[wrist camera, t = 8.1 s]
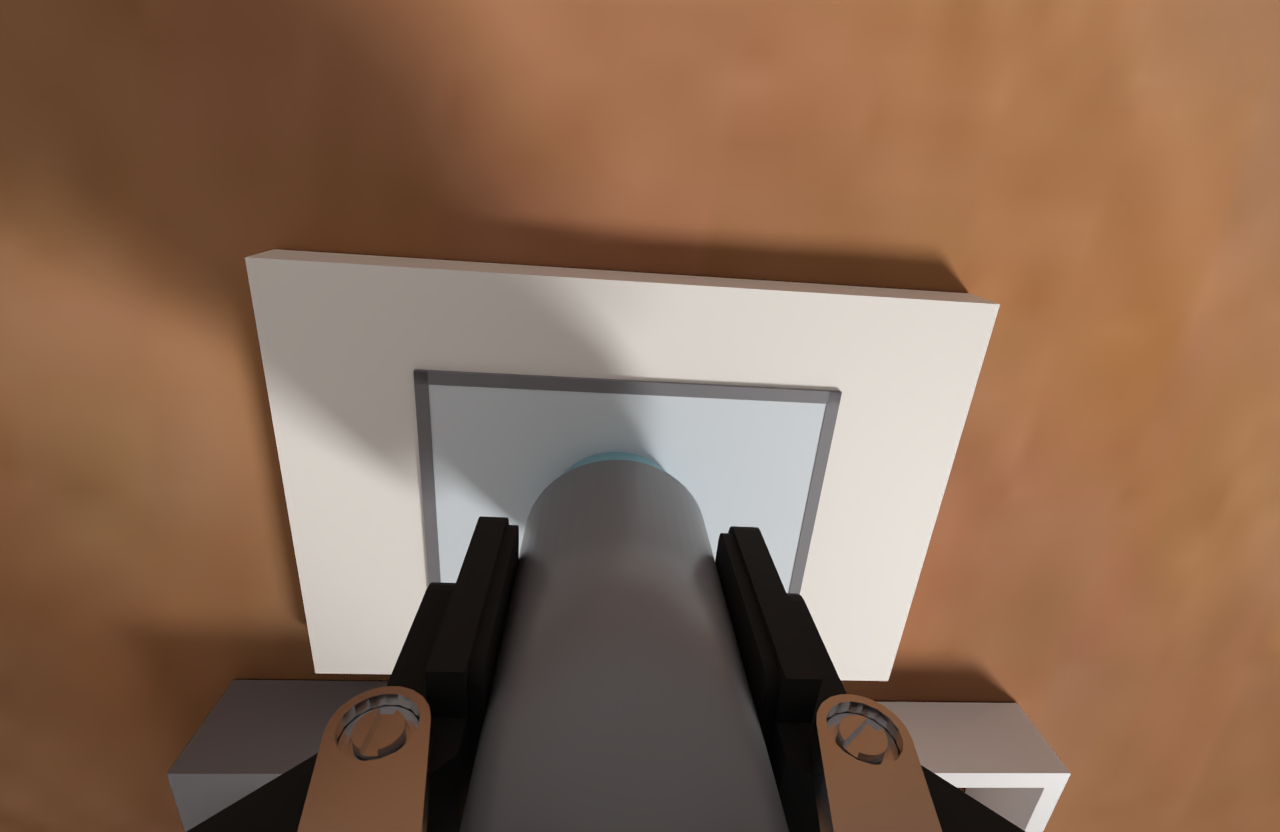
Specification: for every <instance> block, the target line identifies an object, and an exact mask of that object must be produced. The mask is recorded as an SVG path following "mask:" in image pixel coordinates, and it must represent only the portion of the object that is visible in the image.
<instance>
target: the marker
mask: <svg viewBox="0 0 1280 832" xmlns="http://www.w3.org/2000/svg"><path fill="white" fill-rule="evenodd" d="M459 832H789V829H788V825H787V821H786V818H785V814H784V810H783V807H782V803H781V799H780V796H779V792H778V789H777V785H776V781H775V778H774V774H773V770H772V767H771V763H770V760H769V756H768V752H767V749H766V745H765V741H764V738H763V734H762V730H761V727H760V723H759V720H758V716H757V712H756V709H755V705H754V701H753V698H752V694H751V690H750V687H749V683H748V680H747V676H746V672H745V669H744V665H743V661H742V658H741V654H740V650H739V647H738V643H737V640H736V636H735V632H734V629H733V625H732V621H731V618H730V614H729V610H728V607H727V603H726V600H725V596H724V592H723V589H722V585H721V581H720V578H719V574H718V571H717V567H716V563H715V560H714V556H713V552H712V549H711V545H710V541H709V538H708V534H707V531H706V527H705V523H704V520H703V516H702V513H701V511H700V508H699V506H698V504H697V502H696V501H695V499H694V497H693V496H692V494H691V493H690V492H689V491H688V490H687V488H686V487H685V486H684V485H683V484H681V483H680V482H679V481H678V480H677V479H675V478H674V477H673V476H671V475H670V474H668V473H666V472H665V471H664V470H663V469H662V468H661V467H660V466H658V465H657V464H655V463H654V462H652V461H650V460H648V459H646V458H644V457H641V456H639V455H635V454H631V453H624V452H607V453H600V454H596V455H592V456H589V457H587V458H584V459H582V460H580V461H579V462H577V463H575V464H574V465H572V466H571V467H570V468H568V469H567V470H566V471H565V472H564V473H563V474H562V475H561V476H560V477H559V478H557V479H556V480H554V481H553V482H552V483H551V484H550V485H549V486H548V487H546V488H545V489H544V491H543V492H542V493H541V494H540V495H539V497H538V498H537V500H536V501H535V503H534V505H533V506H532V508H531V511H530V513H529V515H528V518H527V522H526V526H525V531H524V535H523V540H522V545H521V549H520V554H519V560H518V565H517V569H516V574H515V579H514V583H513V588H512V592H511V597H510V602H509V606H508V611H507V616H506V620H505V625H504V629H503V634H502V639H501V643H500V648H499V653H498V657H497V662H496V667H495V671H494V676H493V680H492V685H491V690H490V694H489V699H488V704H487V708H486V713H485V718H484V722H483V726H482V730H481V734H480V738H479V743H478V747H477V752H476V757H475V761H474V766H473V770H472V775H471V780H470V784H469V789H468V793H467V798H466V803H465V807H464V812H463V816H462V821H461V826H460V830H459Z"/></svg>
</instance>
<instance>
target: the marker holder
mask: <svg viewBox="0 0 1280 832" xmlns="http://www.w3.org/2000/svg"><path fill="white" fill-rule="evenodd" d="M877 703H879V704H881V705H883V706H885V707H886V708H887V709H889V710H890V711H891V712H893V713H894V714H895V715H896V716H897V717H898V718H899V719H900V720H901V721H902V723H903V724H904V725H905V726H906V727H907V729H908V731H909V733H910V735H911V737H912V739H913V743H914V746H915V749H916V752H917V755H918V758H919V761H920V764H921V765H922V766H924V767H925V768H927V769H928V770H930V771H932V772H933V773H935V774H936V775H938V776H939V777H941V778H942V779H944V780H946V781H947V782H949V783H950V784H952V785H953V786H955V787H957V788H966V791H965V793H966V794H968V795H969V796H971V797H972V798H974V799H975V800H977V801H978V802H980V803H982V804H983V805H985V806H986V807H988V808H989V809H991V810H993V811H994V812H996V813H997V814H999V815H1000V816H1002V817H1004V818H1005V819H1007V820H1008V821H1010V822H1011V823H1013V824H1014V825H1016V826H1018V827H1019V828H1021V829H1022V830H1024V831H1025V832H1043V830H1044V828H1045V826H1046V824H1047V822H1048V820H1049V818H1050V816H1051V814H1052V812H1053V810H1054V807H1055V805H1056V803H1057V801H1058V799H1059V797H1060V795H1061V793H1062V791H1063V789H1064V787H1065V785H1066V783H1067V780H1068V778H1069V776H1070V774H1071V773H1070V771H1069V770H1068V769H1067V768H1066V766H1065V765H1064V764H1063V762H1062V761H1061V760H1060V758H1059V757H1058V756H1057V754H1056V753H1055V752H1054V750H1053V749H1052V748H1051V746H1050V745H1049V744H1048V743H1047V741H1046V740H1045V739H1044V737H1043V736H1042V735H1041V733H1040V732H1039V731H1038V729H1037V728H1036V727H1035V725H1034V724H1033V723H1032V721H1031V720H1030V719H1029V717H1028V716H1027V715H1026V714H1025V712H1024V711H1023V710H1022V708H1021V707H1020V706H1019V704H1018V703H962V702H877Z"/></svg>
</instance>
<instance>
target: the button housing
mask: <svg viewBox="0 0 1280 832" xmlns="http://www.w3.org/2000/svg"><path fill="white" fill-rule="evenodd" d="M387 684H388V681H309V680H233V681H232V683H231V684H230V685H229V687H228V688H227V690H226V691H225V692H224V694H223V695H222V697H221V698H220V699H219V701H218V702H217V704H216V705H215V706H214V708H213V709H212V711H211V712H210V713H209V715H208V716H207V718H206V719H205V720H204V722H203V723H202V725H201V726H200V727H199V729H198V730H197V732H196V733H195V734H194V736H193V737H192V739H191V740H190V741H189V743H188V744H187V746H186V747H185V749H184V750H183V751H182V753H181V754H180V756H179V757H178V758H177V760H176V761H175V763H174V764H173V765H172V767H171V768H170V770H169V771H168V772H167V777H168V780H169V783H170V786H171V790H172V793H173V796H174V799H175V802H176V805H177V808H178V812H179V815H180V818H181V821H182V824H183V827H184V831H185V832H187V831H188V830H190V829H192V828H193V827H195V826H197V825H198V824H200V823H202V822H203V821H205V820H207V819H208V818H210V817H212V816H213V815H215V814H217V813H218V812H220V811H222V810H223V809H225V808H227V807H228V806H230V805H232V804H233V803H235V802H237V801H238V800H240V799H242V798H243V797H245V796H247V795H248V794H250V793H252V792H253V791H255V790H257V789H258V788H260V787H262V786H263V785H265V784H267V783H268V782H270V781H272V780H273V779H275V778H277V777H278V776H280V775H282V774H283V773H285V772H287V771H288V770H290V769H292V768H293V767H295V766H297V765H298V764H300V763H302V762H303V761H305V760H307V759H308V758H310V757H312V756H313V755H315V754H317V753H318V751H319V747H320V744H321V740H322V736H323V732H324V730H325V728H326V726H327V724H328V721H329V719H330V718H331V717H332V716H333V715H334V713H335V712H336V711H337V710H338V709H339V708H340V707H341V706H342V705H343V704H345V703H346V702H347V701H349V700H350V699H352V698H353V697H355V696H357V695H359V694H361V693H363V692H366V691H368V690H371V689H375V688H380V687H384V686H387Z"/></svg>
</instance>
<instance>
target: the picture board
mask: <svg viewBox="0 0 1280 832" xmlns="http://www.w3.org/2000/svg"><path fill="white" fill-rule="evenodd" d="M245 262H246V268H247V273H248V279H249V285H250V291H251V297H252V303H253V309H254V315H255V321H256V327H257V332H258V338H259V344H260V350H261V356H262V362H263V368H264V374H265V380H266V385H267V391H268V397H269V403H270V409H271V415H272V421H273V427H274V433H275V439H276V444H277V450H278V456H279V462H280V468H281V474H282V480H283V486H284V492H285V497H286V503H287V509H288V515H289V521H290V527H291V533H292V539H293V545H294V551H295V556H296V562H297V568H298V574H299V580H300V586H301V592H302V598H303V604H304V609H305V615H306V621H307V627H308V633H309V639H310V645H311V651H312V657H313V663H314V668H315V673H319V674H392V671H393V669H394V667H395V664H396V662H397V659H398V657H399V655H400V652H401V650H402V647H403V645H404V642H405V640H406V638H407V635H408V633H409V630H410V628H411V626H412V623H413V621H414V618H415V616H416V613H417V611H418V609H419V606H420V604H421V601H422V599H423V597H424V594H425V592H426V589H427V588H428V586H429V584H430V583H432V582H441V583H456V581H457V578H458V575H459V573H460V570H461V567H462V564H463V561H464V558H465V555H466V553H467V550H468V547H469V544H470V541H471V538H472V536H473V533H474V530H475V527H476V524H477V521H478V519H479V517H480V516H484V517H508V519H509V525H518V526H519V554H520V549H521V545H522V540H523V535H524V531H525V526H526V522H527V518H528V515H529V513H530V511H531V508H532V506H533V505H534V503H535V501H536V500H537V498H538V497H539V495H540V494H541V493H542V492H543V491H544V489H545V488H546V487H548V486H549V485H550V484H551V483H552V482H553V481H554V480H556V479H557V478H559V477H560V476H561V475H562V474H563V473H564V472H565V471H566V470H567V469H568V468H570V467H571V466H572V465H574V464H575V463H577V462H579V461H580V460H582V459H584V458H587V457H589V456H592V455H596V454H600V453H607V452H624V453H631V454H635V455H639V456H641V457H644V458H646V459H648V460H650V461H652V462H654V463H655V464H657V465H658V466H660V467H661V468H662V469H663V470H664V471H665V472H666V473H668V474H670V475H671V476H673V477H674V478H675V479H677V480H678V481H679V482H680V483H681V484H683V485H684V486H685V487H686V488H687V490H688V491H689V492H690V493H691V494H692V496H693V497H694V499H695V501H696V502H697V504H698V506H699V508H700V511H701V513H702V516H703V520H704V523H705V527H706V531H707V534H708V538H709V541H710V545H711V549H712V552H713V556H714V560H715V559H716V552H717V546H718V539H719V535H720V534H721V533H728V531H729V528H730V527H731V526H738V527H758V528H759V529H760V531H761V534H762V536H763V538H764V541H765V543H766V545H767V548H768V550H769V553H770V555H771V557H772V560H773V562H774V565H775V567H776V569H777V572H778V574H779V577H780V579H781V581H782V584H783V586H784V589H785V591H786V593H797V594H799V595H801V596H802V598H803V599H804V601H805V603H806V605H807V607H808V610H809V612H810V614H811V616H812V618H813V621H814V623H815V625H816V627H817V630H818V632H819V634H820V636H821V638H822V641H823V643H824V645H825V647H826V649H827V652H828V654H829V656H830V658H831V661H832V663H833V665H834V667H835V669H836V672H837V674H838V676H839V678H840V680H852V681H888V680H889V677H890V673H891V670H892V667H893V663H894V660H895V656H896V653H897V650H898V646H899V643H900V640H901V636H902V633H903V629H904V626H905V623H906V619H907V616H908V613H909V609H910V606H911V603H912V599H913V596H914V592H915V589H916V586H917V582H918V579H919V576H920V572H921V569H922V565H923V562H924V559H925V555H926V552H927V549H928V545H929V542H930V538H931V535H932V532H933V528H934V525H935V522H936V518H937V515H938V511H939V508H940V505H941V501H942V498H943V495H944V491H945V488H946V485H947V481H948V478H949V474H950V471H951V468H952V464H953V461H954V458H955V454H956V451H957V447H958V444H959V441H960V437H961V434H962V431H963V427H964V424H965V420H966V417H967V414H968V410H969V407H970V404H971V400H972V397H973V393H974V390H975V387H976V383H977V380H978V377H979V373H980V370H981V367H982V363H983V360H984V356H985V353H986V350H987V346H988V343H989V340H990V336H991V333H992V329H993V326H994V323H995V319H996V316H997V313H998V309H999V306H1000V304H998V303H995V302H992V301H989V300H987V299H984V298H981V297H979V296H976V295H973V294H970V293H955V292H939V291H924V290H908V289H892V288H877V287H861V286H845V285H829V284H814V283H798V282H782V281H767V280H751V279H735V278H719V277H704V276H688V275H672V274H656V273H641V272H625V271H609V270H594V269H578V268H562V267H546V266H531V265H515V264H499V263H484V262H468V261H452V260H436V259H421V258H405V257H389V256H374V255H358V254H342V253H326V252H311V251H295V250H279V249H273V250H269V251H266V252H262V253H258V254H255V255H251V256H247V257H245Z"/></svg>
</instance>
